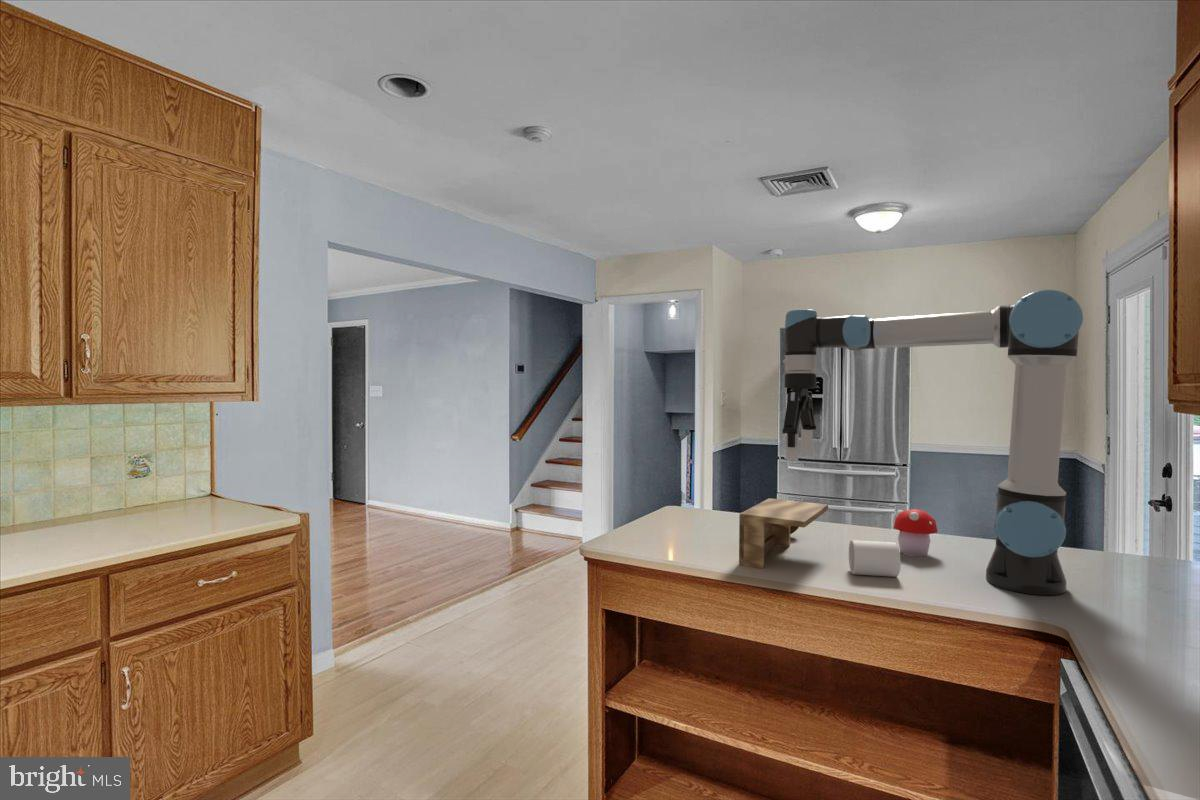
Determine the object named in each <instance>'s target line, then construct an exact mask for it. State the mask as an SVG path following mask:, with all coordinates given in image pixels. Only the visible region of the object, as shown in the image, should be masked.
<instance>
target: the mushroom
mask: <svg viewBox="0 0 1200 800" xmlns="http://www.w3.org/2000/svg"><path fill="white" fill-rule="evenodd" d="M893 529H895V530H898V531H899V533H898V537H897V541H898V548H899V552H900V554H903V555H905V556H912V557H927V556H928V555H929V549H930V545H931V538H930V535H932V534H938V527H937V521H936V519H935V518H933V517H932V516H931V515H930V514H929V513H928V512H926V511H925V510H922V509H918V508H911V509H907V510H903V509H899V510H897V511H896V517H895V518H894V524H893ZM926 555H927V556H926Z"/></svg>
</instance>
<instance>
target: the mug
mask: <svg viewBox="0 0 1200 800" xmlns="http://www.w3.org/2000/svg"><path fill="white" fill-rule="evenodd" d="M848 544H849V545H848V565H849V566H848V567H849V569H850V573H851V574H852V575H858V576H859V575H860V576H872V577H873V576H876V577H892V578H894V577H895V578H897V577H899V575H900V571H901V552H900V547H899V544H898V543H896V542H895V541H876V540H875V541H874V540H856V539H852V540H850V541H849V543H848Z"/></svg>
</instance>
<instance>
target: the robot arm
mask: <svg viewBox="0 0 1200 800" xmlns="http://www.w3.org/2000/svg"><path fill="white" fill-rule="evenodd" d="M1083 318H1084V314H1083V311H1082V308H1081V306H1080V304H1079V302H1078V301H1077V300H1076V299H1075V298H1074V297H1072V296H1071V295H1070V294H1068V293H1065V292H1063V291H1062V290H1061V291H1060V290H1056V289H1041V290H1040V289H1039V290H1036V291H1033V292H1030V293H1027V294H1025V295H1023V296H1022V297H1021V298H1019V300H1018V301H1017V302H1015V303H1013V304H1007V305H1005V304H1004V305H997V307H995V308H994V309H992V310H982V311H969V312H956V313H955V312H954V313H941V314H940V313H939V314H927V315H926V314H925V315H914V316H913V315H911V316H910V315H909V316H895V317H884V318H870V319H869V316H867V315H865V314H863V315H862V314H859V315H858V314H850V315H840V316H839V315H837V316H827V317H826V316H824V317H823V316H822V317H821V316H818V312H817V310H815V309H808V308H805V309H801V308H800V309H799V308H798V309H792V310H789V311H787V312H786V313H785V321H784V330H783V331H784V359H783V360H782V363H783V364H784V371H785V372H786V373H785V374H784V388H786V389H792V391H790V392H787V399H786V400H787V402H786V409H785V416H784V422H783V428H782V434H786V435H785V437H786V440H785V441H786V442H785V453H786V454H785V461H788V462H799V435H801V436H800V438H801V440H800V441H801V442H800V445H801V446H800V449H801V450H800V455H802V456H813V453H814V452H813V449H814V448H813V447H814V446H813V440H814V439H813V438H814V437H813V436H814V435H813V434H814V432H813V431H814V430H817V425H816V422H815V421H816V420H815V415H814V414H815V413H814V407H813V405H814V403H813V391H809V389H815V388H817V374H816V373H815V372H816V371H818V370H817V364H818V363H817V349H826V348H827V349H830V348H832V349H833V348H835V349H836V348H839V349H846V350H850V351H862V350H873V349H874V350H875V349H893V348H896V349H897V348H915V347H916V348H919V347H939V346H940V347H941V346H961V345H962V346H963V345H966V346H968V345H987V344H988V345H990V344H992V345H994V346H996V347H997V348H1000V349H1001V348H1002V349H1003V348H1004V349H1005V348H1007V358H1008V359H1009V360H1011V362H1012V363H1013V364H1014V366H1015V370H1014V379H1013V380H1014V384H1013V394H1012V395H1013V397H1012V410H1011V411H1012V412H1011V426H1010V439H1009V450H1008V451H1009V454H1008V465H1007V478H1006V479H1004V480H1002V481H1001V482H1000V483H999V484H998V485H997V488H996V492H995V496H996V508H995V509H996V512H995V519H994V531H995V546H994V550H993V552H992V555H991V557H990V560H989V561H988V564H987V567H986V569H985V580H986V581H987V582H989V583H990V584H992V585H994V586H996V587H998V588H1002V589H1005V590H1008V591H1012V592H1016V593H1023V594H1027V595H1028V594H1029V595H1037V596H1038V595H1039V596H1060V595H1063V594H1065V593H1066V592H1067V577H1066V576H1065V573H1064V570H1063V567H1062V565H1061V562H1060V559H1059V554H1058V550H1059V548H1060V547H1061V546H1062V544H1063V543H1064V541H1065V540H1066V536H1067V527H1066V523H1065V515H1066V514H1065V513H1066V512H1065V511H1066V499H1067V497H1066V496H1067V491H1065V490H1064V489H1063V487H1061V486H1060V484H1059V471H1060V470H1059V469H1060V467H1059V466H1060V459H1061V458H1060V456H1061V442H1062V430H1063V429H1062V428H1063V417H1064V415H1063V414H1064V403H1065V389H1066V376H1067V367H1068V365H1069V364H1071V363H1072V362H1073V361H1075V360H1076V359H1077V358H1078V346H1079V345H1078V344H1079V334H1080V333H1079V332H1080V329H1081V327H1082V325H1083V320H1084V319H1083ZM800 422H801V426H802V427H801V428H802V429H800V434H799V433H798V429H799V426H800Z"/></svg>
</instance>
